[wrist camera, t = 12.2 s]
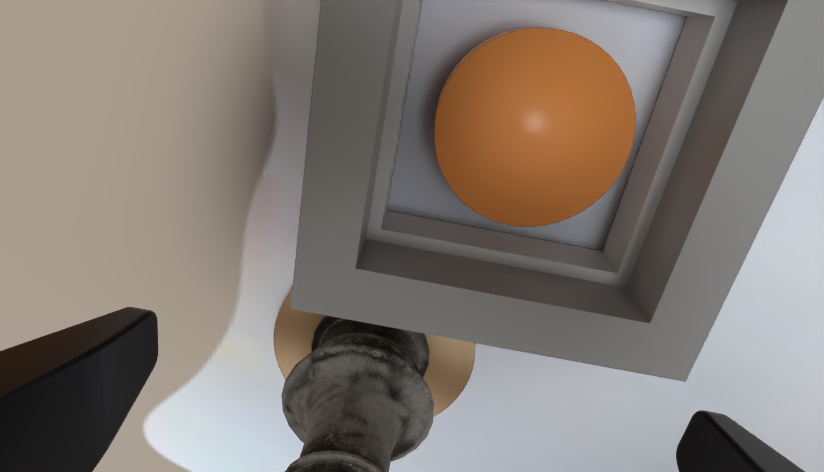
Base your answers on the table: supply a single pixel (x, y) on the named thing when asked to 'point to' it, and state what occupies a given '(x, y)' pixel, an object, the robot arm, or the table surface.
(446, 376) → the coaster
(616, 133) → the button
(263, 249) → the table surface
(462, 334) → the breaker guard
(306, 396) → the salt shaker
